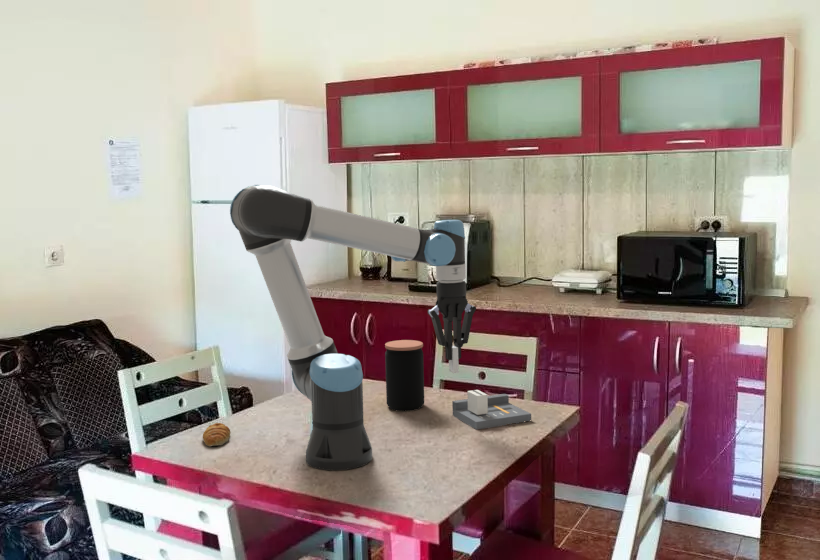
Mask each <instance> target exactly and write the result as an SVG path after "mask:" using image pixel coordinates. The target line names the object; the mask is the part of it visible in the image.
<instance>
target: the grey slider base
mask: <svg viewBox="0 0 820 560" xmlns="http://www.w3.org/2000/svg"><path fill="white" fill-rule="evenodd" d="M487 396H488V413H487V414H480V415H477V414H475V413H473V412H471V411H470V410H468V398H465V399H456V400H452V416H453V417H454V418H456V419H458V420H459V421H461V422H463V423H464V424H466V425H468V426H470V427H471V428H473V429H475V430H476V431H477V430H482V429H483V430H484V429H489V428H496V427H502V425H503V426H507V425H506V424H510V425H512V424H511V423H516V424H520V423H519V422H523V423H525V422H524V421H529V422H531V421H532V413H531V412H528V411H526V410H524V409H522V408H520V407H519V406H516V405H515V404H513V403H510V402H509V401H510V400H509V397H510V396H509V395H508V394H506V393H501V394H495V395H487ZM530 420H531V421H530Z"/></svg>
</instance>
